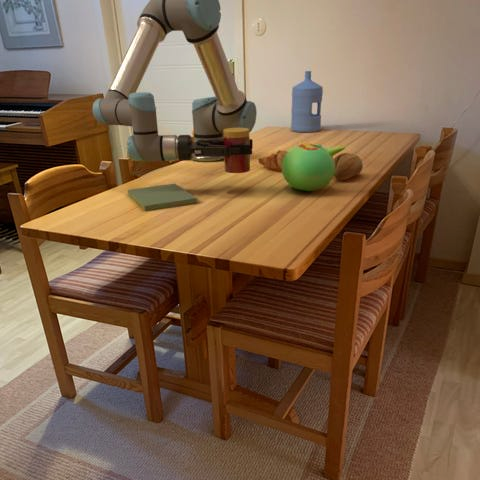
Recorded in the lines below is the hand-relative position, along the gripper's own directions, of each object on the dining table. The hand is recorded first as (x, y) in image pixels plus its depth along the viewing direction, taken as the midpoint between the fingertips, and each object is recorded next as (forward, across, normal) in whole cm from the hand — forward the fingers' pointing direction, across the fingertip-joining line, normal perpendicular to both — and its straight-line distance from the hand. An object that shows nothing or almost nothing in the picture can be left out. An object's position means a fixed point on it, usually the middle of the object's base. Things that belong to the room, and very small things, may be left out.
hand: (252, 146), depth 149 cm
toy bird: (+18, -2, -14) cm, 23 cm away
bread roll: (+32, -16, -14) cm, 39 cm away
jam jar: (-5, 0, -7) cm, 8 cm away
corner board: (-28, +7, -14) cm, 32 cm away
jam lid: (-5, 0, +4) cm, 7 cm away
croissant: (+11, -30, -14) cm, 35 cm away
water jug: (+26, -119, -15) cm, 123 cm away
